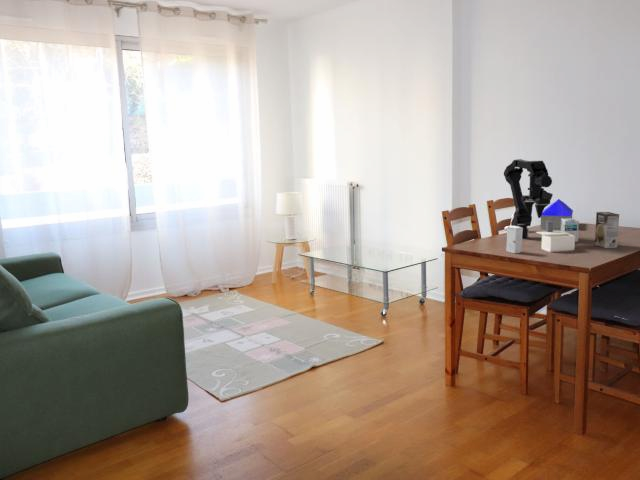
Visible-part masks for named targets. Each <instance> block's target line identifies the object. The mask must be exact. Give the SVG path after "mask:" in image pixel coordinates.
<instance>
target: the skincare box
mask: <svg viewBox="0 0 640 480" xmlns="http://www.w3.org/2000/svg"><path fill="white" fill-rule="evenodd" d="M507 226H508V227H507ZM507 226H506V227H507V232H506V248H505V251H506V252H508V253H512V254H519V253H522V249H523V247H522V245H523V238H522V233H523V227H519V226H510V225H507Z"/></svg>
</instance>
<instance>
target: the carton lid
mask: <svg viewBox="0 0 640 480" xmlns="http://www.w3.org/2000/svg"><path fill="white" fill-rule="evenodd" d="M535 234H538V235H541V236H542V235H545V236H546V235H563V234H570V233H567V232H563V231H561V230H554V229H553V221H546V229H545V231H535Z"/></svg>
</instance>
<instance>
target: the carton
mask: <svg viewBox="0 0 640 480" xmlns="http://www.w3.org/2000/svg"><path fill="white" fill-rule="evenodd" d="M575 244H576V242H575V236H573V235H570V234H563V235H546V236H545V235H541V247H540V248H541V250H543V251H546V252H548V253H556V252H557V253H559V252H560V253H561V252H573V251H575V246H576V245H575Z"/></svg>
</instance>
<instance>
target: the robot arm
mask: <svg viewBox="0 0 640 480" xmlns="http://www.w3.org/2000/svg"><path fill="white" fill-rule="evenodd" d="M524 169H525V170H526V171H527V172H529V173H528V176H527V177H529V187H527V191H529V192H528V194H527V195H523V192H522V188H521V187H522V186H521V183H520V181H521V179H522V174H523V172H524ZM503 176H504V179H505V181H506V182H507V183H508V185H510V190H511V194H512V199H513V202H514V207H515V210H514V211H515V213H514V212H513V213H514V218H513V217H512V218H513V220H512V219H511V220H512V221H511V220H510V224H511V226H519V227H523V233H522V239H527V238H528V237H529V228H528V227H531V223H532V219H533V217H532V213H533V206H534V207H535V211H536V214H537V218H538V219H541V215H542V213H543V211H544V210H545V209H546V208H547V207H549V206H550V205H551V200H552V198H553V195H554V194H553V193H551V192H547V190H545V189H544V188H549V187H550V186H551V185H552V184H553V179H552V177H551V176H549V171H548V169H547V167H546V164H545V162H544V161H543V160H530V161H529V160H525V159H522V158H520V159H514V160H512V162H511V163H510V164H509V165H506V168H505V169H504V171H503Z"/></svg>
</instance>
